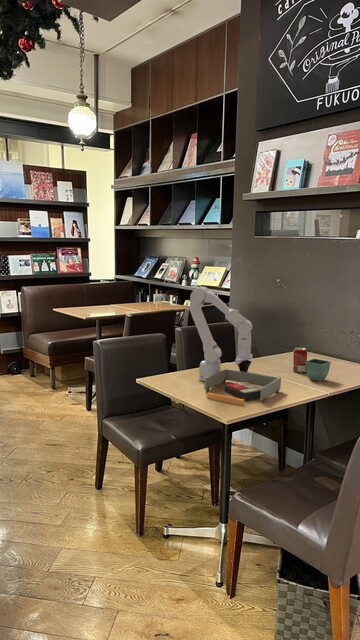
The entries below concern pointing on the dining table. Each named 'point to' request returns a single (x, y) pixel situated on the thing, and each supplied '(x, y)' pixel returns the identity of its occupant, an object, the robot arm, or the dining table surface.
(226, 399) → the bar
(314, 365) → the flower pot
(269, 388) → the grey u-shaped barrier
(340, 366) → the dining table surface
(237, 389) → the calculator
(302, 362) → the soda can
